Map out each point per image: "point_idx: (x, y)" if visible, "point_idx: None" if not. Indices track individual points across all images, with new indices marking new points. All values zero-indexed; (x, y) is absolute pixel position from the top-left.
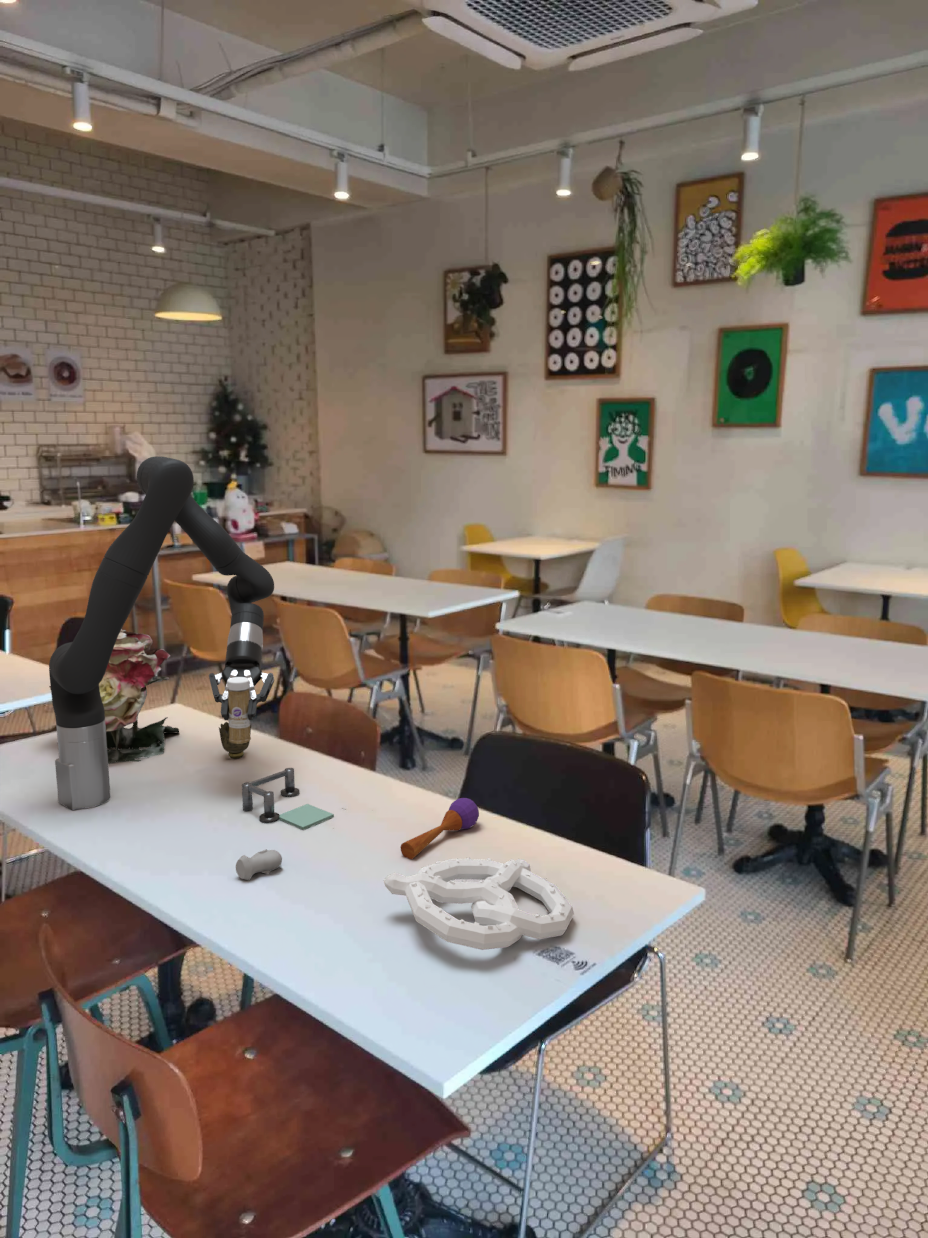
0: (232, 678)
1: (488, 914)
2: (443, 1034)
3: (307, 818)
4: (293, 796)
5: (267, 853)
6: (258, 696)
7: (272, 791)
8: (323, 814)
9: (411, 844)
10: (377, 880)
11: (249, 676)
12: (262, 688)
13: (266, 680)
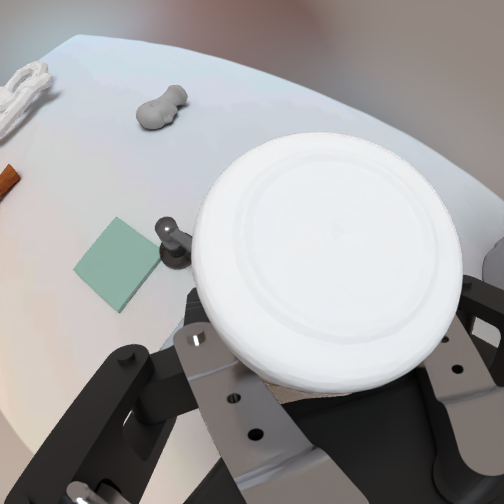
0: (427, 249)
1: (9, 89)
2: (67, 46)
3: (111, 247)
4: None
5: (149, 102)
6: (163, 362)
7: (158, 234)
8: (87, 266)
9: (7, 165)
10: (53, 133)
11: (257, 475)
12: (117, 396)
13: (67, 463)
